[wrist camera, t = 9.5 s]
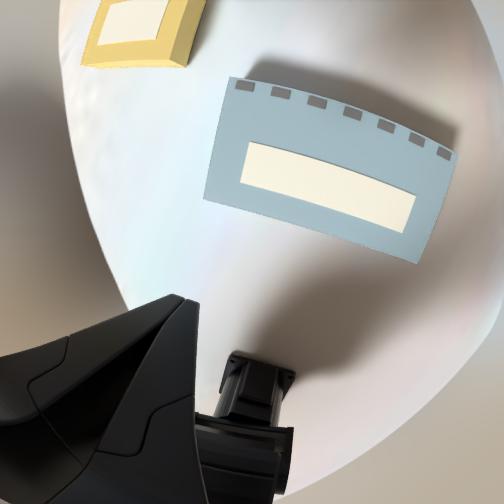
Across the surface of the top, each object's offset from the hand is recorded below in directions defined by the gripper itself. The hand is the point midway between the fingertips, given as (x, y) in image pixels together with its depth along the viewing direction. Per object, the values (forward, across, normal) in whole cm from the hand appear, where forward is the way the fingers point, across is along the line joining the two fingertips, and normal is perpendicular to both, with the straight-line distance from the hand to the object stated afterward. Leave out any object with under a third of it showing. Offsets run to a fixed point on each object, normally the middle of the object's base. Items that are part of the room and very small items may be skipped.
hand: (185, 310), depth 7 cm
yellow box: (+12, +11, -12) cm, 20 cm away
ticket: (+12, -4, -4) cm, 13 cm away
